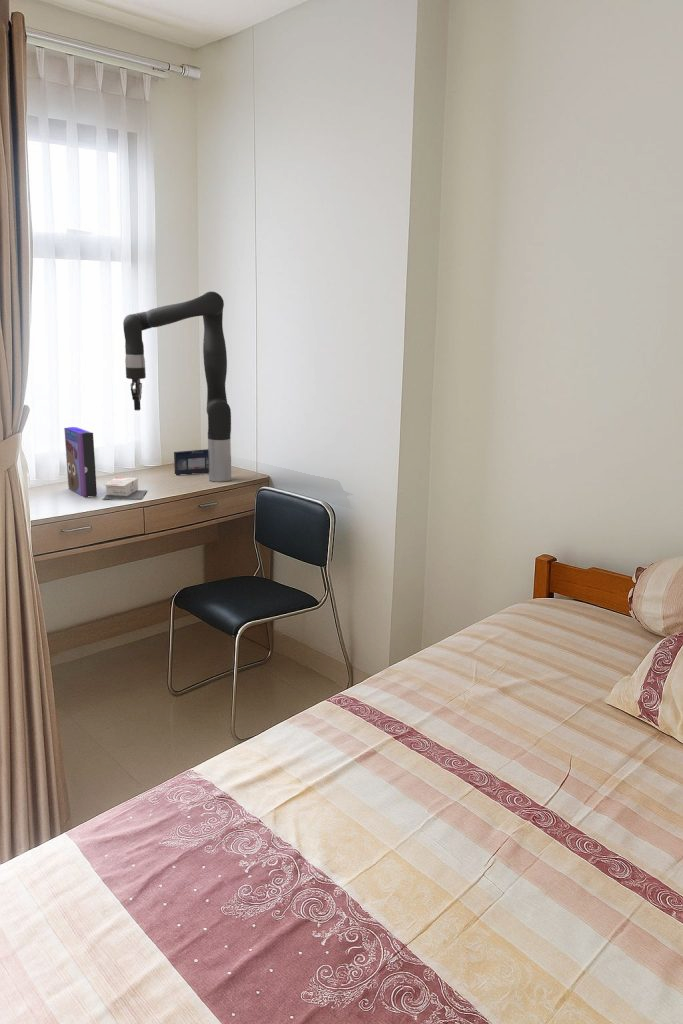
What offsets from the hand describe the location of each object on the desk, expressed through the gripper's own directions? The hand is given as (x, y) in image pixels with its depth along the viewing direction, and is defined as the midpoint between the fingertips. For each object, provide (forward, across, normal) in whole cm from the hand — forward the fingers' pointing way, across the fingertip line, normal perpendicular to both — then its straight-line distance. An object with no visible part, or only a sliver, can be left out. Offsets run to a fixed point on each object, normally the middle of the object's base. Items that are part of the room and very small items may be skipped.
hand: (137, 410), depth 311 cm
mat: (+29, -26, +2) cm, 39 cm away
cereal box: (+29, -20, +19) cm, 40 cm away
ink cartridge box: (+26, -17, +2) cm, 31 cm away
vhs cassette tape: (+29, +16, -21) cm, 39 cm away
